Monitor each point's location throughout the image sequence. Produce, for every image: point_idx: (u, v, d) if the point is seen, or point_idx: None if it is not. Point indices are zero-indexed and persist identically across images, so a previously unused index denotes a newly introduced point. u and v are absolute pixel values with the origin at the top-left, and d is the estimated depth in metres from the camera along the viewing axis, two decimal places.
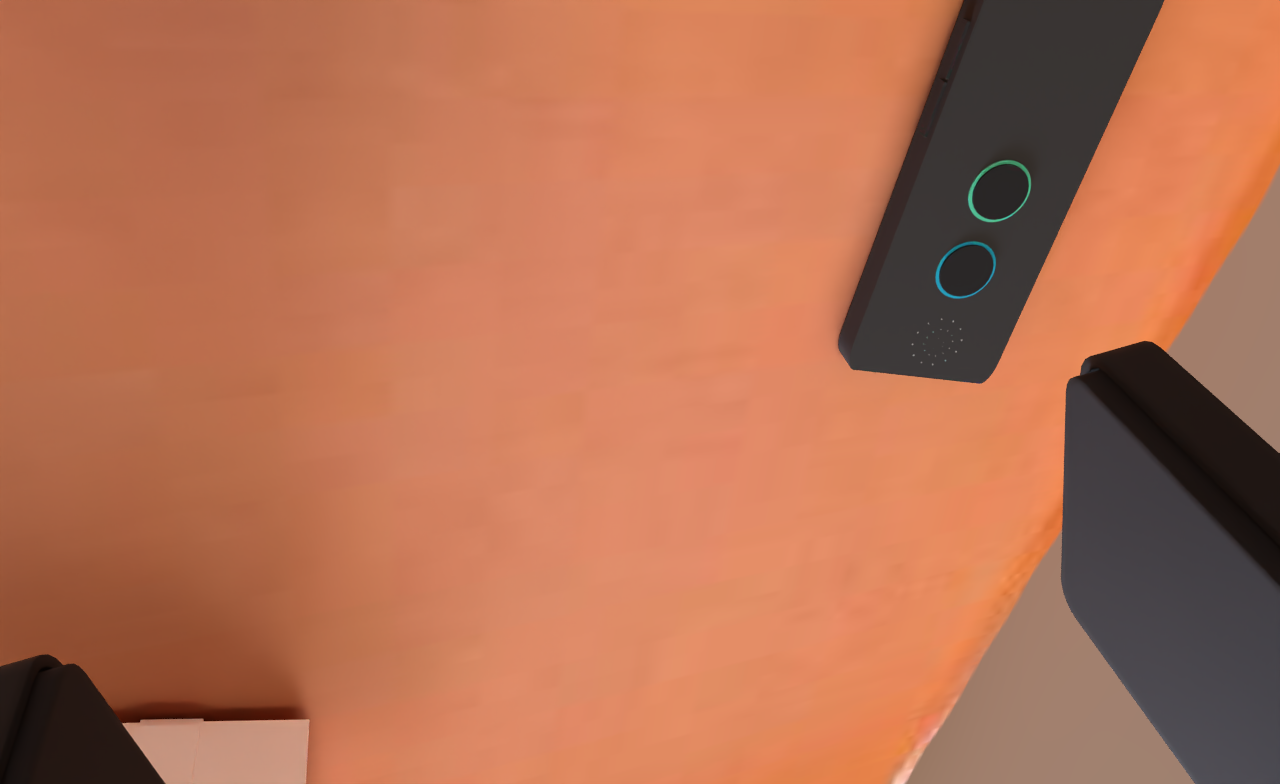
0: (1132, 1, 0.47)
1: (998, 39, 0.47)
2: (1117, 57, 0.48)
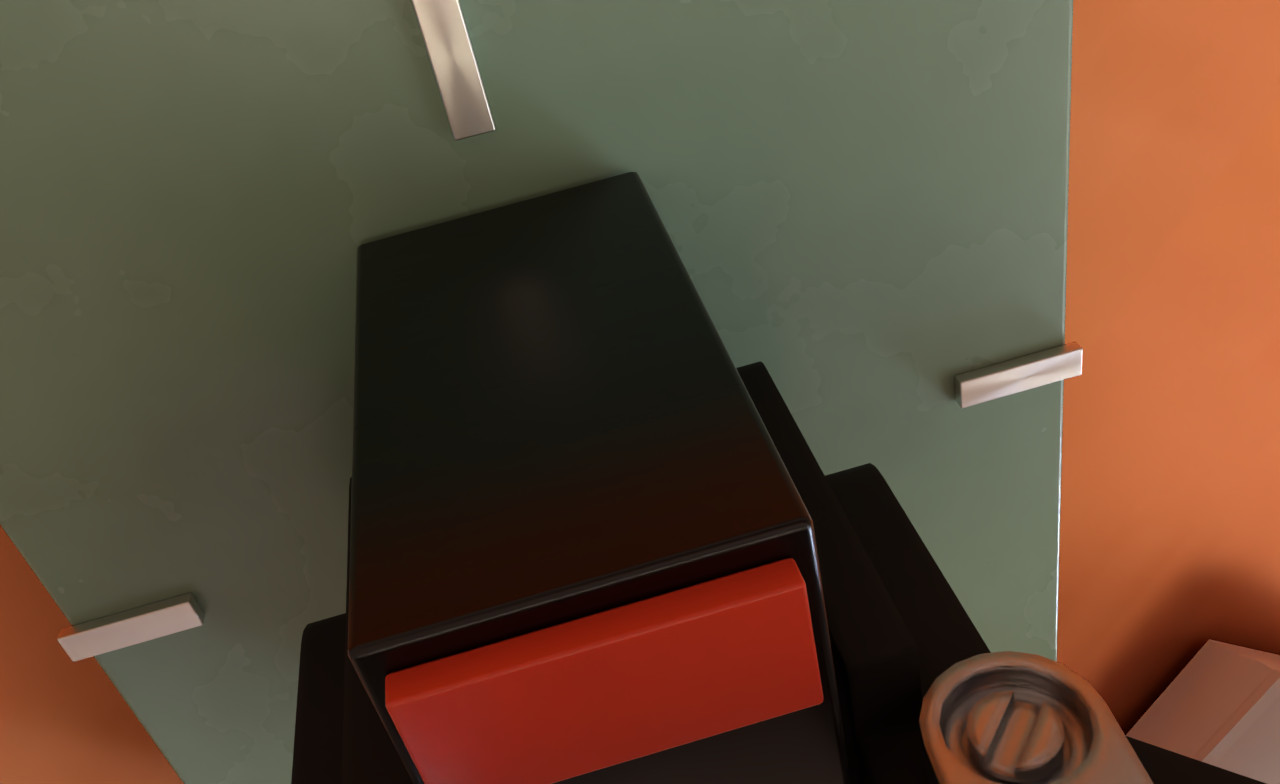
0: None
1: None
2: None
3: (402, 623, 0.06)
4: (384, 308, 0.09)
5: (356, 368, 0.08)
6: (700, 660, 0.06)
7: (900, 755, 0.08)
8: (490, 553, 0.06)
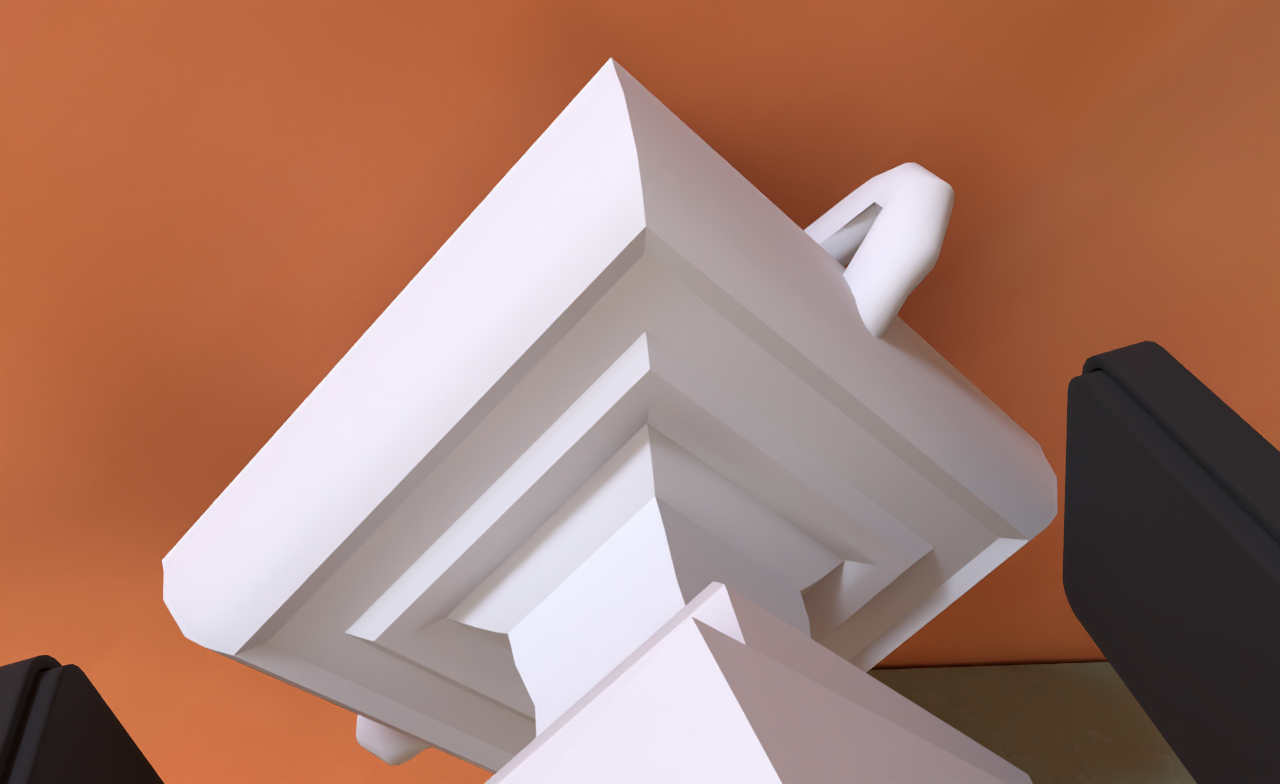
0: None
1: None
2: None
3: None
4: None
5: None
6: None
7: None
8: None
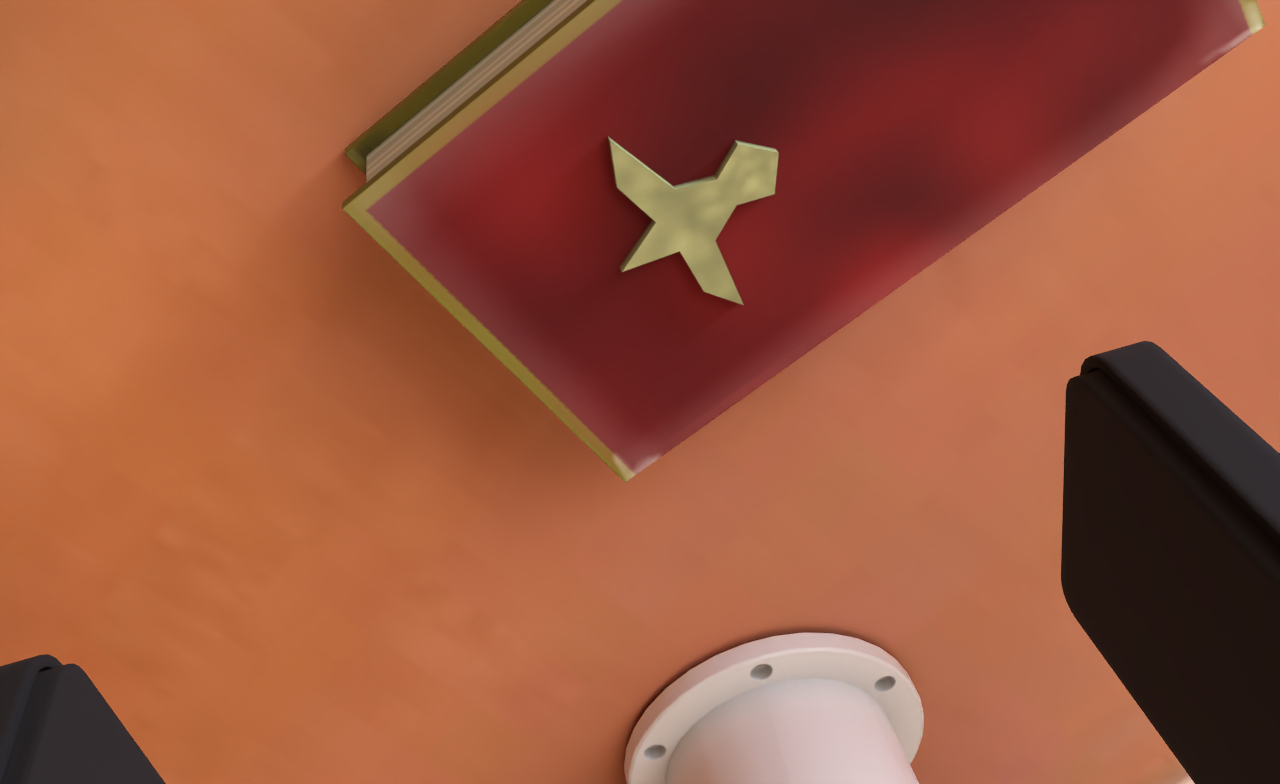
0: None
1: None
2: None
3: None
4: None
5: None
6: None
7: None
8: None
